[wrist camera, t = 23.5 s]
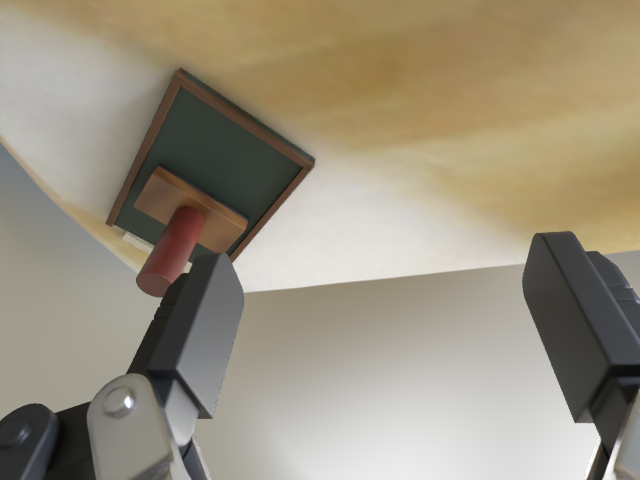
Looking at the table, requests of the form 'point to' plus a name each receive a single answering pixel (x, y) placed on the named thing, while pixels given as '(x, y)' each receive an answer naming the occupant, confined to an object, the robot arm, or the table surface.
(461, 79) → the table surface
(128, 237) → the white rectangular block
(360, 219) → the table surface
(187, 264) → the white rectangular block
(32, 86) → the table surface
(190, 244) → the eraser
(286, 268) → the table surface
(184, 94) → the board
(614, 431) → the robot arm
